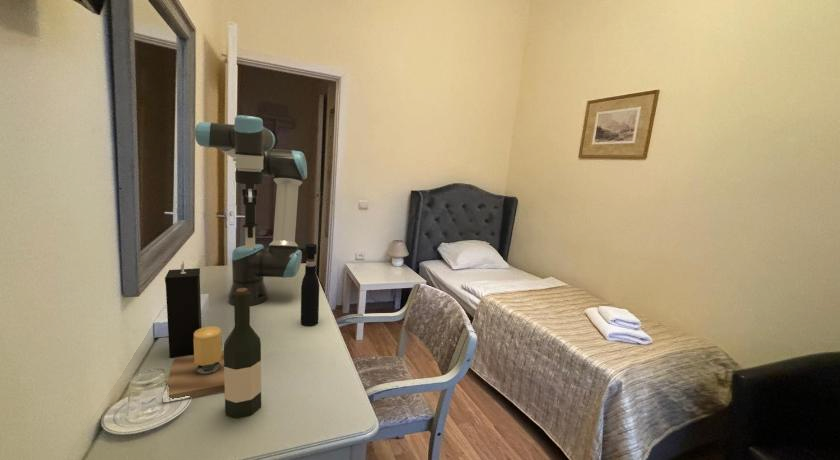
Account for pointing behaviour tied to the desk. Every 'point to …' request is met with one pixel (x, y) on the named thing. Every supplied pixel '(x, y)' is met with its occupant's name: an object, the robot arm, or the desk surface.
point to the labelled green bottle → (242, 362)
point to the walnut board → (194, 379)
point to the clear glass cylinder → (208, 368)
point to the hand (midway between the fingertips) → (250, 247)
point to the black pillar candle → (183, 309)
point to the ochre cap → (207, 345)
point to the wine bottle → (310, 289)
